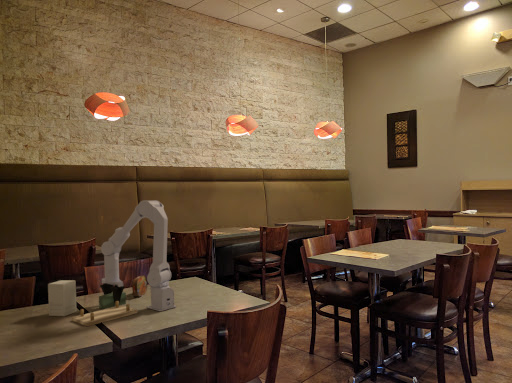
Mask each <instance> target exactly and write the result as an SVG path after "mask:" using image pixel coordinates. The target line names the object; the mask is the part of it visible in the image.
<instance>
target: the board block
mask: <svg viewBox="0 0 512 383" xmlns="http://www.w3.org/2000/svg"><path fill="white" fill-rule="evenodd" d="M126 304H127V292H126V291H125V292H124V291H123V292H122V295H121V299H120V303H119V306H120V305H122V306H124V305H126ZM98 306H99V309H101V308H102V309H101V310H104V309H108V308H112V307H116V305H115V303H114V299H113V293H111V294H106V295H104V294H103V295H98Z"/></svg>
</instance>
